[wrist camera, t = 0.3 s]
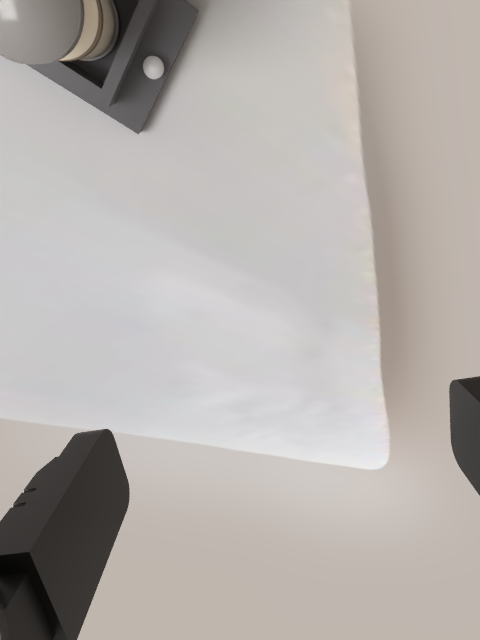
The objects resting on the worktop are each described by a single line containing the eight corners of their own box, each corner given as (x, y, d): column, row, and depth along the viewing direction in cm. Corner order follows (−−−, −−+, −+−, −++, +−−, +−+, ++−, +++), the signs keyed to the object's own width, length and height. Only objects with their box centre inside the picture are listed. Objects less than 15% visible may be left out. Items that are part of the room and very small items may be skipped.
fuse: (37, 32, 28) (-61, 17, 17) (63, -44, 26) (-29, -115, 15) (104, 75, 29) (53, 87, 19) (132, 7, 28) (94, -24, 17)
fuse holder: (-25, 29, 28) (-50, 26, 25) (19, -127, 25) (-4, -152, 22) (140, 132, 33) (135, 139, 30) (198, 12, 29) (198, 7, 26)
